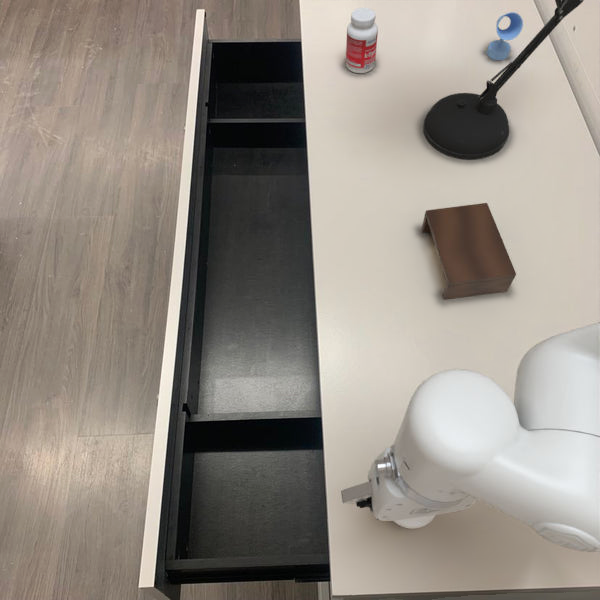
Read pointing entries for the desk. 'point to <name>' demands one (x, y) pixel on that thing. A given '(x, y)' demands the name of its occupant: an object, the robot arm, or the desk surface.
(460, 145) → the desk lamp
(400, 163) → the desk surface
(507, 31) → the spotlight
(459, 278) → the brown wooden stand
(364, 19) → the pill bottle
